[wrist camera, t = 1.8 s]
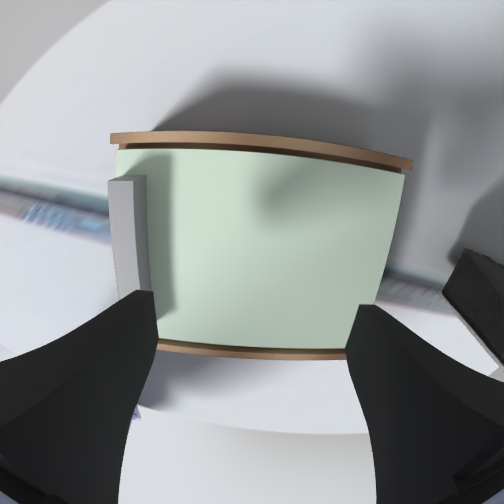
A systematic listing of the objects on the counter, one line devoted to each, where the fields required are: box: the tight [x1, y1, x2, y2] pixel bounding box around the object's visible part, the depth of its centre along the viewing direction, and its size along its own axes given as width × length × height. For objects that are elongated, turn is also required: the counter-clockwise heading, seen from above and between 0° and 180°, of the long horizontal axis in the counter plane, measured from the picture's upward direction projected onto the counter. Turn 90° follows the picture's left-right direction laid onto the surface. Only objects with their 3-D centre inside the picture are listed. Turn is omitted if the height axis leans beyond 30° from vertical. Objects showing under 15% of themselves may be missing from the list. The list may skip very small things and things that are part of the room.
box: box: [110, 131, 413, 360], centre depth 16 cm, size 14×12×5 cm
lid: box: [108, 148, 405, 349], centre depth 13 cm, size 14×10×2 cm
